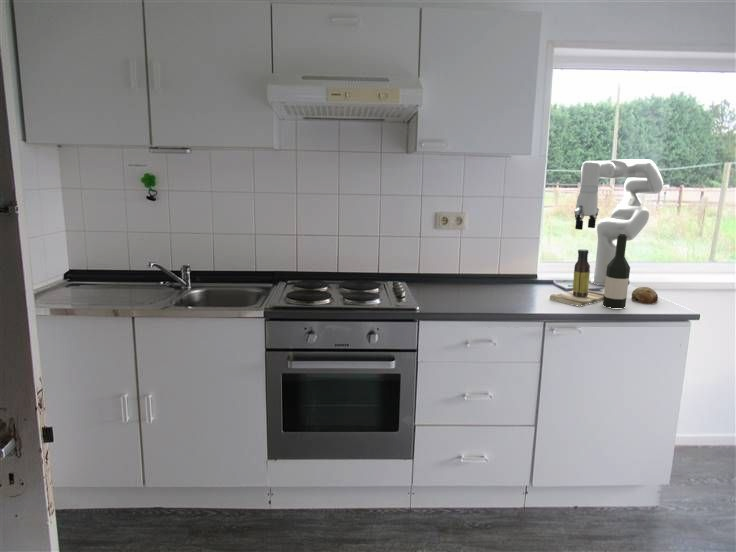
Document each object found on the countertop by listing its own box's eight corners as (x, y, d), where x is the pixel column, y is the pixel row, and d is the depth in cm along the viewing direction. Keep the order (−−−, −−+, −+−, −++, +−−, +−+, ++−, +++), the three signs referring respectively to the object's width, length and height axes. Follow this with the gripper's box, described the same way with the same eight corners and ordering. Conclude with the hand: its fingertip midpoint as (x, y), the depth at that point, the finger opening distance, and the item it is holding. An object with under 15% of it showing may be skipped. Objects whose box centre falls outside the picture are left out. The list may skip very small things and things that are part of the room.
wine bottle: (630, 308, 204) (639, 234, 197) (612, 310, 202) (621, 235, 195) (614, 303, 212) (623, 231, 205) (598, 304, 210) (606, 232, 203)
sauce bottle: (589, 295, 218) (594, 249, 214) (585, 298, 213) (590, 251, 209) (573, 293, 222) (578, 248, 217) (569, 295, 217) (574, 250, 212)
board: (579, 292, 229) (580, 287, 229) (609, 298, 218) (609, 294, 218) (549, 299, 217) (550, 294, 217) (579, 306, 206) (579, 302, 206)
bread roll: (627, 306, 220) (624, 291, 217) (644, 295, 222) (640, 279, 219) (648, 313, 211) (644, 297, 208) (664, 300, 213) (661, 284, 210)
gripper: (592, 189, 232) (588, 226, 236) (569, 190, 222) (566, 229, 226) (607, 189, 226) (603, 228, 230) (585, 191, 216) (581, 230, 220)
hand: (585, 228), depth 228 cm, fingers open, 9 cm apart
